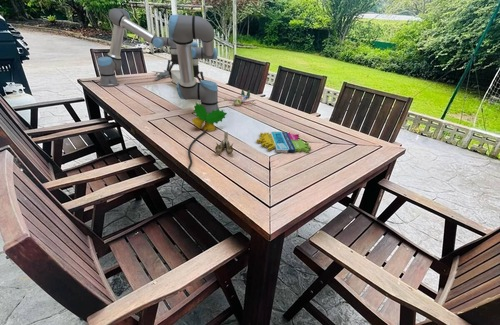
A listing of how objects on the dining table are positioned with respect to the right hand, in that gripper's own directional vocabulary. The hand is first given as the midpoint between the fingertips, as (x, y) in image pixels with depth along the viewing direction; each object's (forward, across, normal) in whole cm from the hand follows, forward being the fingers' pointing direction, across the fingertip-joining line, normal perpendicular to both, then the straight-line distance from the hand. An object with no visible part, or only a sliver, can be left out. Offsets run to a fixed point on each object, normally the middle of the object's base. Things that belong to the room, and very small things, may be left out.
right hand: (194, 93), depth 208 cm
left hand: (0, 0, -58) cm, 58 cm away
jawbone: (+7, +12, +90) cm, 91 cm away
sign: (+7, -24, +92) cm, 95 cm away
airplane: (+7, +4, -96) cm, 97 cm away
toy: (+7, -38, +9) cm, 39 cm away
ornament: (+7, +8, +57) cm, 58 cm away
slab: (+1, 0, -29) cm, 29 cm away
